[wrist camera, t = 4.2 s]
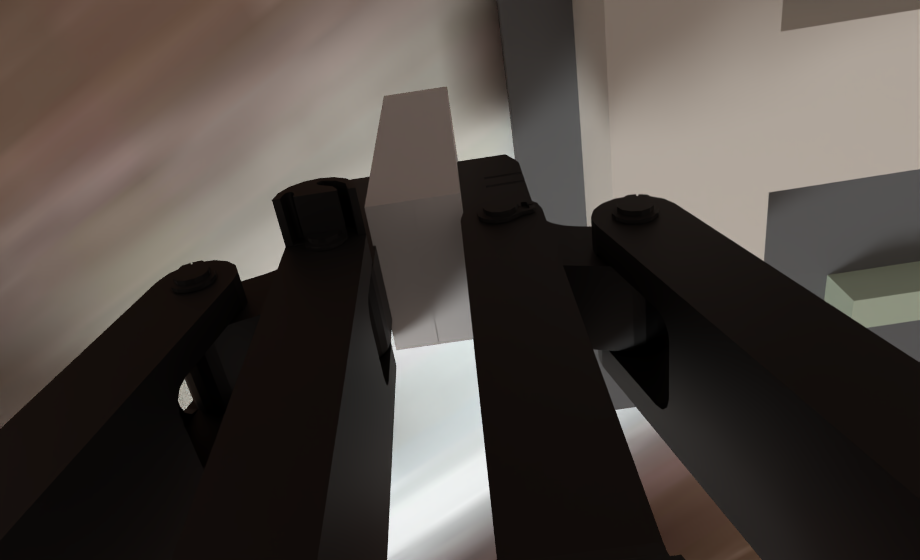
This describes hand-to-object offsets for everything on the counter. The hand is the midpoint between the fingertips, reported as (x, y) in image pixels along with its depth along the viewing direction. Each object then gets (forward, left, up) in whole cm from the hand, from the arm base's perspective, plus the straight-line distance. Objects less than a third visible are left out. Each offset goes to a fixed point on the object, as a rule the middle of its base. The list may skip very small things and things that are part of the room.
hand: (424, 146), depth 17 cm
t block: (0, +9, -1) cm, 9 cm away
